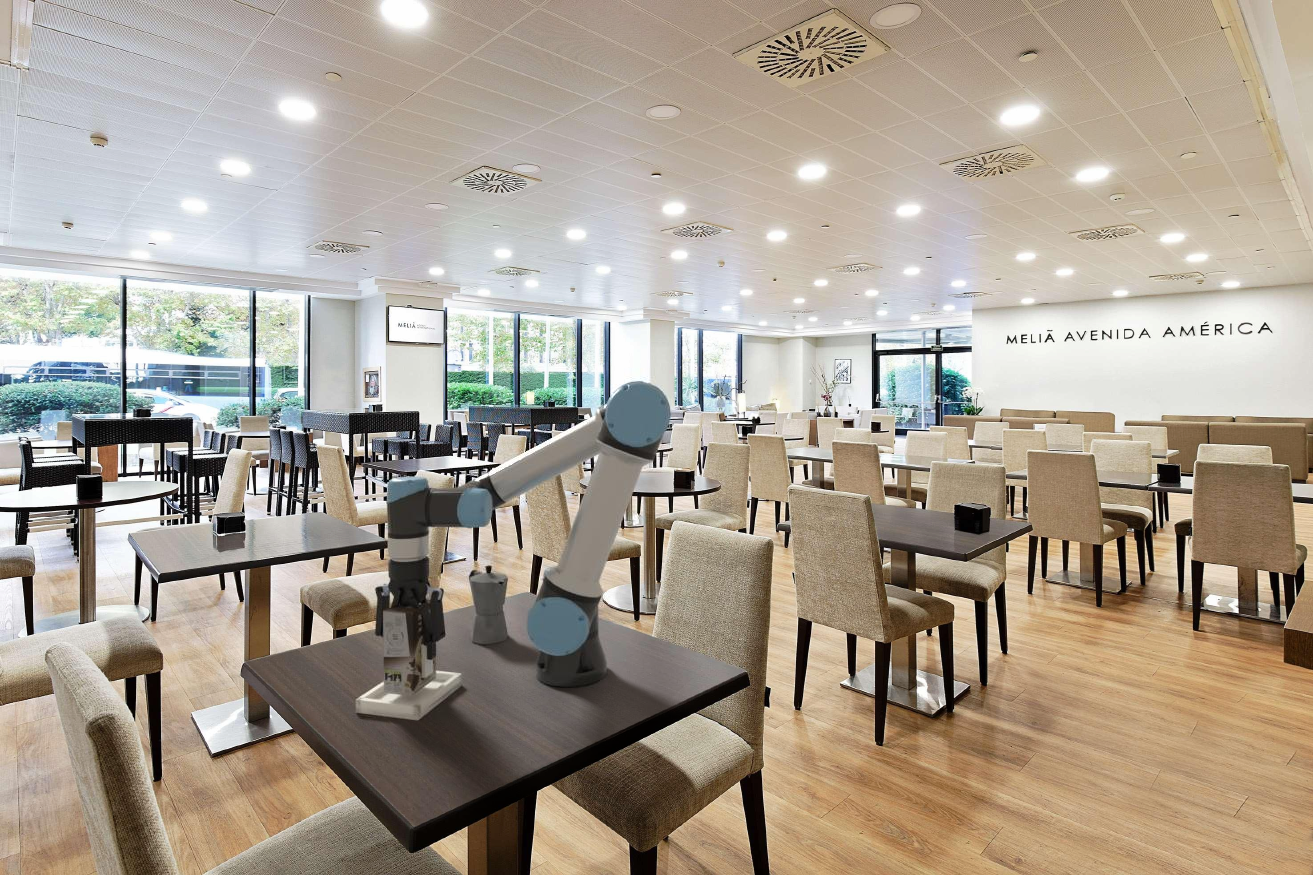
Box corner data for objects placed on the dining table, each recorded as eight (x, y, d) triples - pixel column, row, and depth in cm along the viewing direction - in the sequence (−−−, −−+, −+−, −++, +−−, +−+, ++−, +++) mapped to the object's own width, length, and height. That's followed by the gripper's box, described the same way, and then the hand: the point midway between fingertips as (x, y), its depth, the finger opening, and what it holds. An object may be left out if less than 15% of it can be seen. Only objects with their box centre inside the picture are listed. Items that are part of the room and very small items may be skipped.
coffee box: (413, 696, 133) (412, 612, 132) (382, 693, 134) (381, 610, 133) (437, 677, 142) (436, 598, 141) (408, 675, 143) (407, 597, 142)
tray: (461, 685, 144) (461, 673, 144) (417, 720, 129) (417, 707, 129) (405, 679, 148) (405, 667, 147) (355, 712, 132) (355, 699, 132)
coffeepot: (520, 640, 171) (520, 567, 170) (486, 650, 164) (485, 574, 163) (487, 625, 182) (486, 556, 181) (454, 633, 175) (453, 562, 174)
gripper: (464, 555, 138) (465, 670, 139) (376, 550, 142) (379, 661, 144) (443, 564, 131) (445, 686, 132) (352, 558, 135) (355, 675, 137)
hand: (410, 673), depth 138 cm, fingers closed on coffee box, 6 cm apart
